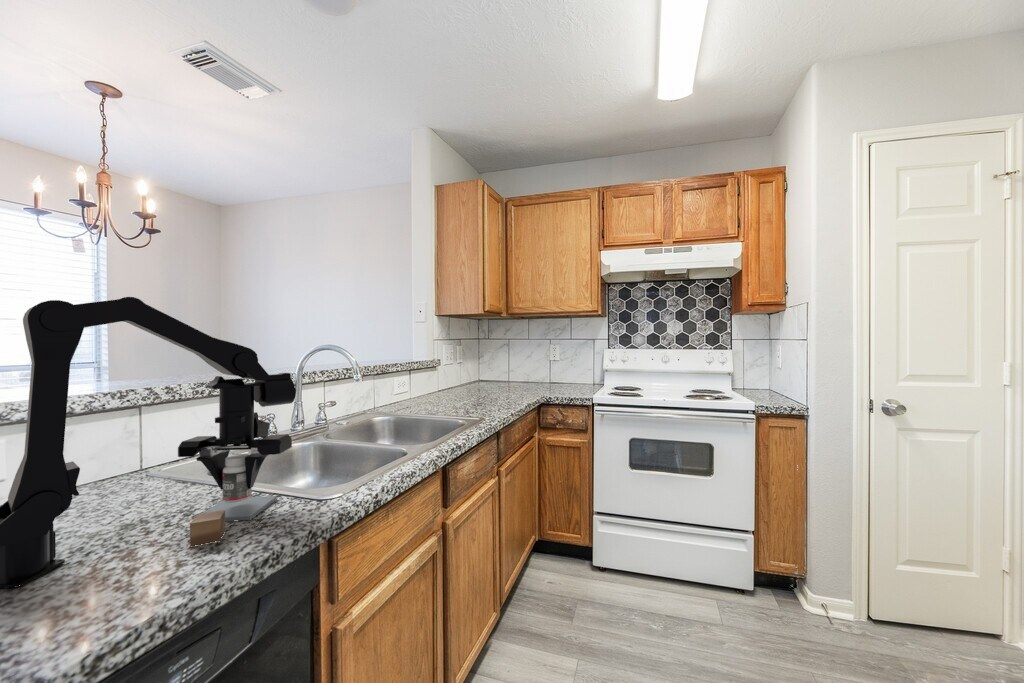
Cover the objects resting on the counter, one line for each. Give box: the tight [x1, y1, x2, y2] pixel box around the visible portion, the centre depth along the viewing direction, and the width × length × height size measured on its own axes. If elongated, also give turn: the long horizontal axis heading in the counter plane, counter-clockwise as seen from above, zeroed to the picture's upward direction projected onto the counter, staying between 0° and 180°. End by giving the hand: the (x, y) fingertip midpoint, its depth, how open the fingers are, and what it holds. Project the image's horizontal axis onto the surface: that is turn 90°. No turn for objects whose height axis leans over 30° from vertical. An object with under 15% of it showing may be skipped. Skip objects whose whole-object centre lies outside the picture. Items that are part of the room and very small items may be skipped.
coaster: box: [202, 495, 278, 522], centre depth 81 cm, size 10×10×1 cm
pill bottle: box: [222, 453, 252, 503], centre depth 81 cm, size 5×5×8 cm
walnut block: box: [189, 510, 226, 547], centre depth 69 cm, size 4×4×4 cm
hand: (237, 488), depth 81 cm, fingers closed on pill bottle, 5 cm apart
